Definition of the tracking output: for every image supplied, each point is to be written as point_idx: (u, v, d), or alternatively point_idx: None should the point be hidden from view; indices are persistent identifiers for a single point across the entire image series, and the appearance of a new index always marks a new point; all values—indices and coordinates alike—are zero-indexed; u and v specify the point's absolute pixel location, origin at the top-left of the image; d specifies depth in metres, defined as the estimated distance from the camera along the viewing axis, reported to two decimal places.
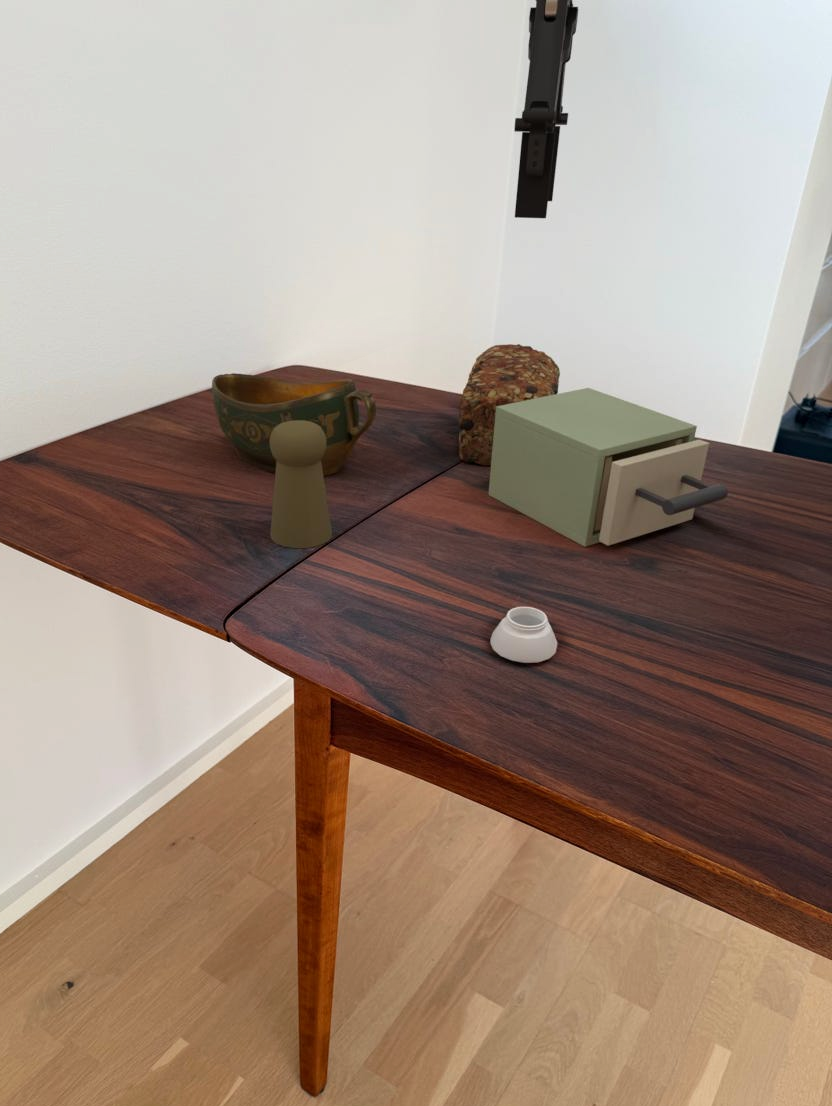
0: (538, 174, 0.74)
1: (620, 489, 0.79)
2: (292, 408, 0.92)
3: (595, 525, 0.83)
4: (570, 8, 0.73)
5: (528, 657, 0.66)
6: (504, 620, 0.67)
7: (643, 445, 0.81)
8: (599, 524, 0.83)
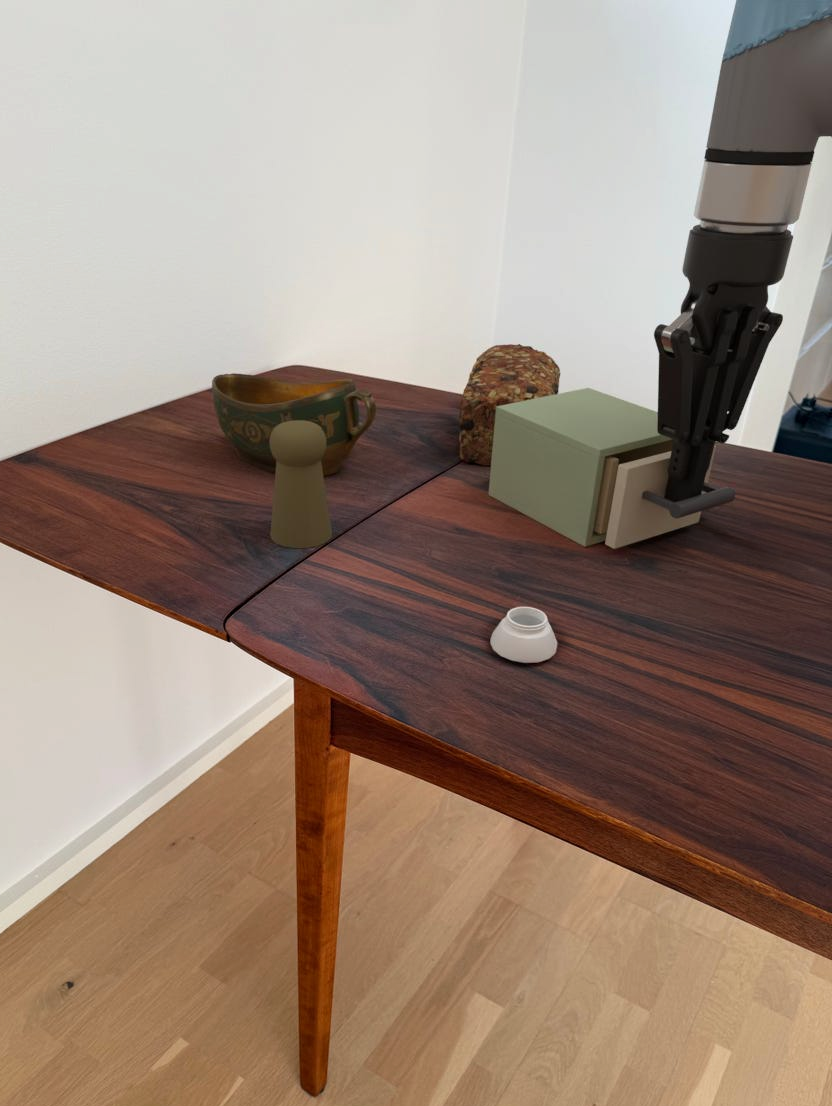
0: (677, 478, 0.77)
1: (626, 492, 0.78)
2: (292, 408, 0.92)
3: (601, 528, 0.82)
4: (724, 311, 0.69)
5: (528, 657, 0.66)
6: (504, 620, 0.67)
7: (643, 445, 0.81)
8: (605, 527, 0.83)
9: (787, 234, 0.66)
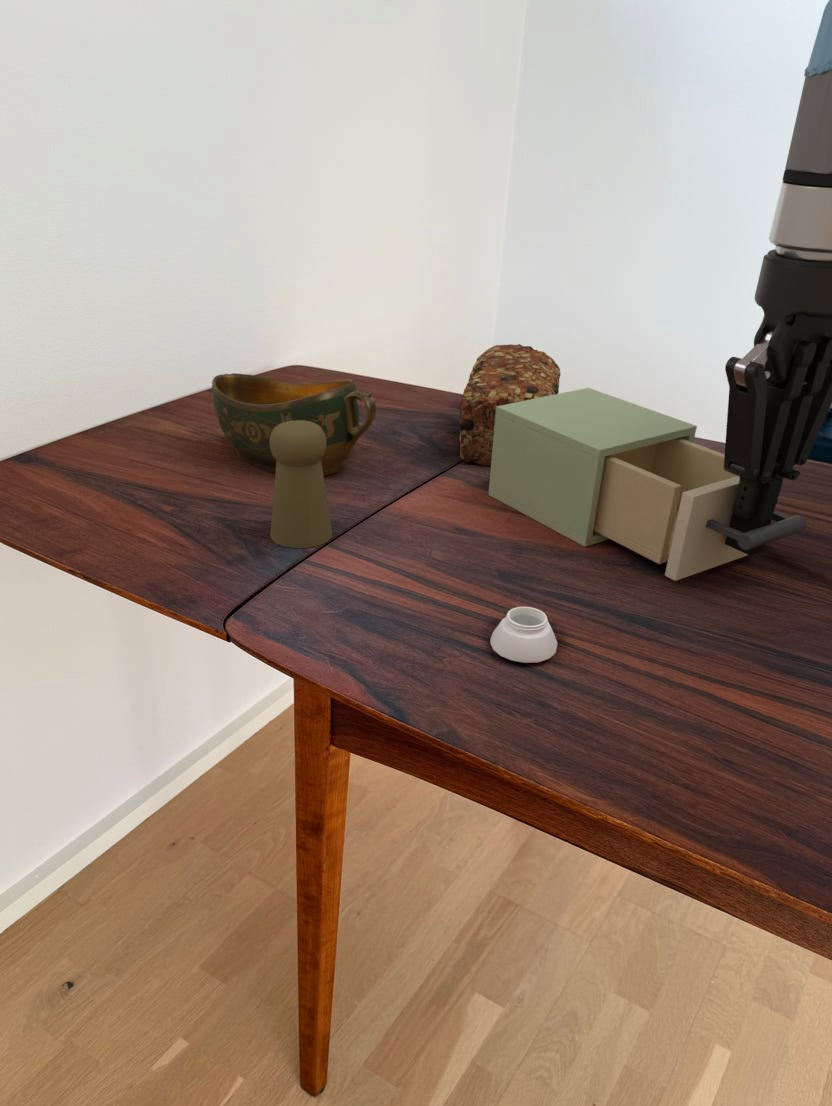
0: (743, 517, 0.73)
1: (691, 521, 0.73)
2: (292, 408, 0.92)
3: (660, 558, 0.77)
4: (801, 343, 0.64)
5: (528, 657, 0.66)
6: (504, 620, 0.67)
7: (643, 445, 0.81)
8: (664, 557, 0.77)
9: None
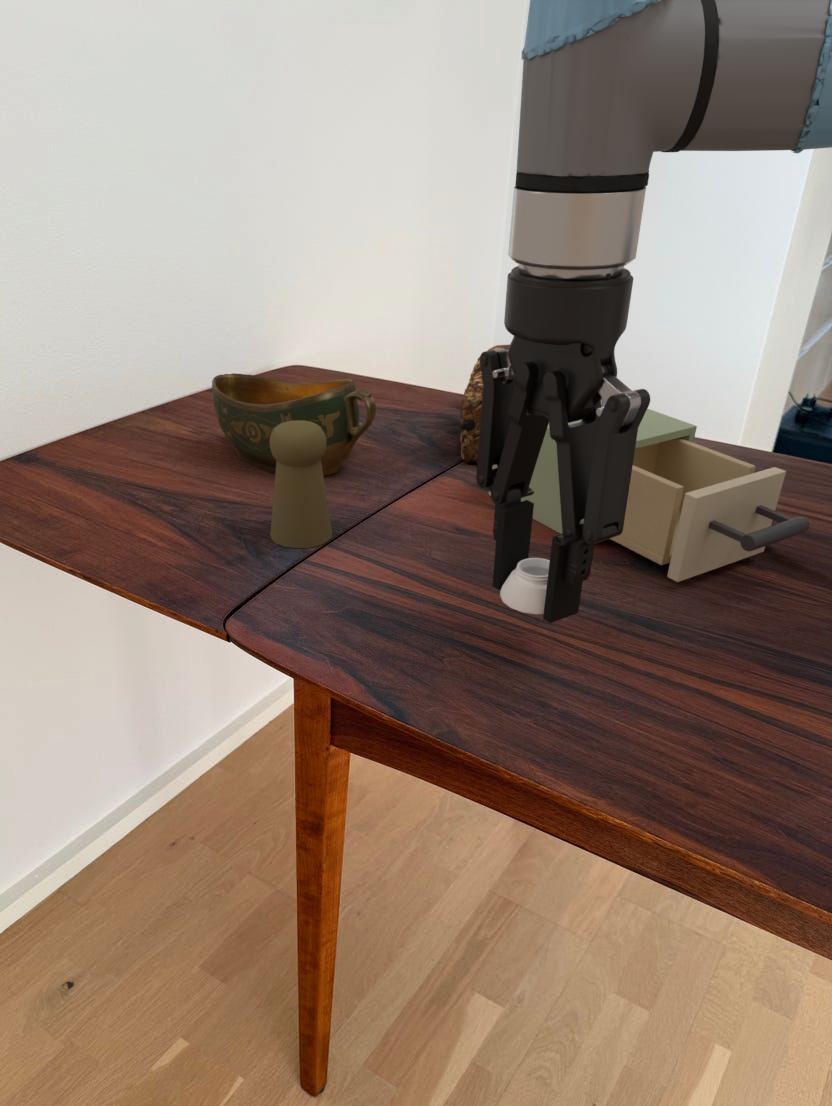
0: None
1: (693, 522, 0.73)
2: (292, 408, 0.92)
3: (662, 559, 0.77)
4: None
5: (539, 608, 0.63)
6: (514, 572, 0.65)
7: (643, 445, 0.81)
8: (666, 558, 0.77)
9: (538, 280, 0.51)
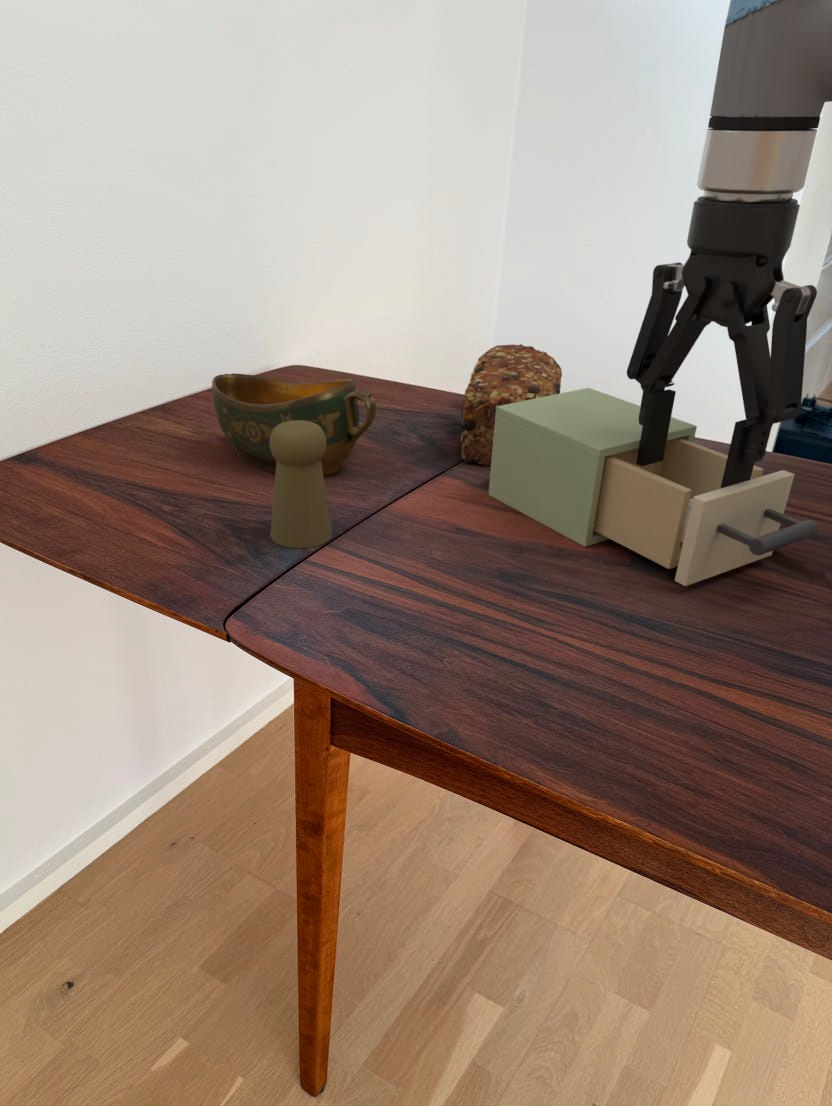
0: None
1: (701, 526, 0.72)
2: (292, 408, 0.92)
3: (670, 563, 0.76)
4: None
5: None
6: None
7: None
8: (674, 562, 0.77)
9: (727, 203, 0.64)
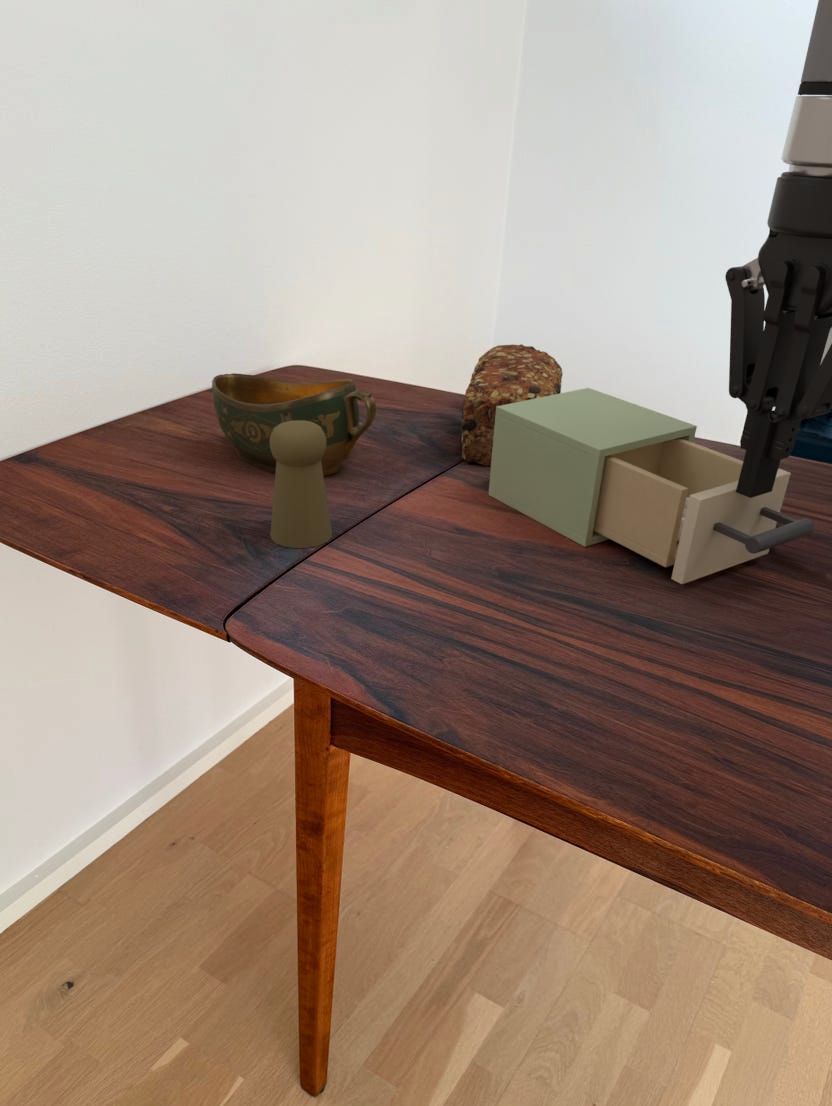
0: None
1: (698, 524, 0.72)
2: (292, 408, 0.92)
3: (666, 561, 0.77)
4: None
5: None
6: None
7: (643, 445, 0.81)
8: (670, 560, 0.77)
9: (819, 178, 0.58)
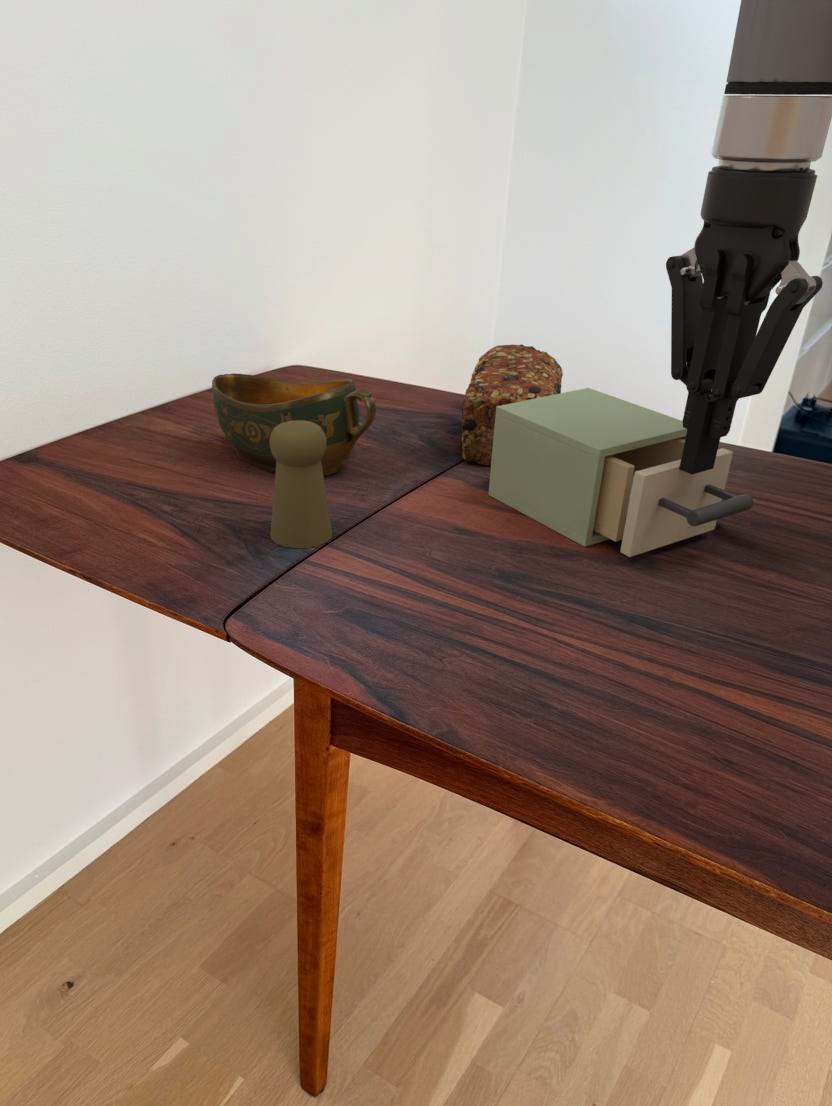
0: None
1: (643, 499, 0.77)
2: (292, 408, 0.92)
3: (616, 536, 0.81)
4: None
5: None
6: None
7: (643, 445, 0.81)
8: (620, 535, 0.81)
9: (743, 172, 0.63)
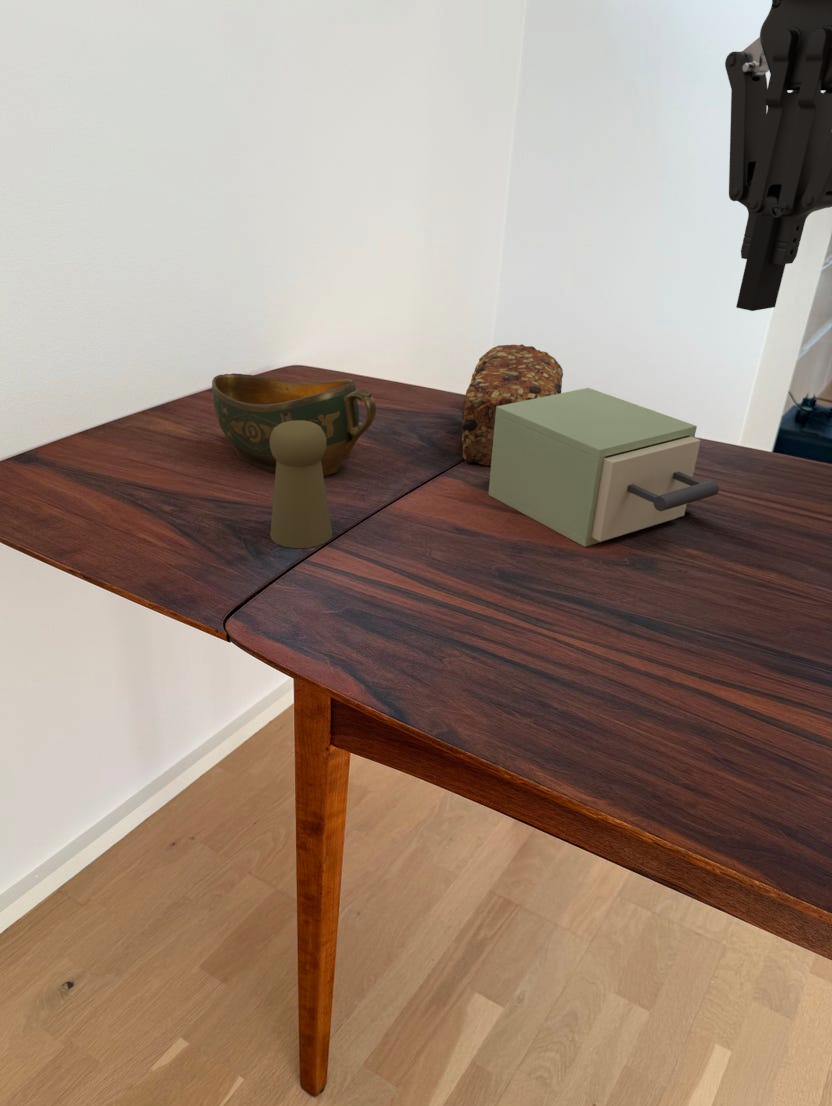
0: None
1: (612, 485, 0.79)
2: (292, 408, 0.92)
3: None
4: None
5: None
6: None
7: (643, 445, 0.81)
8: None
9: None
